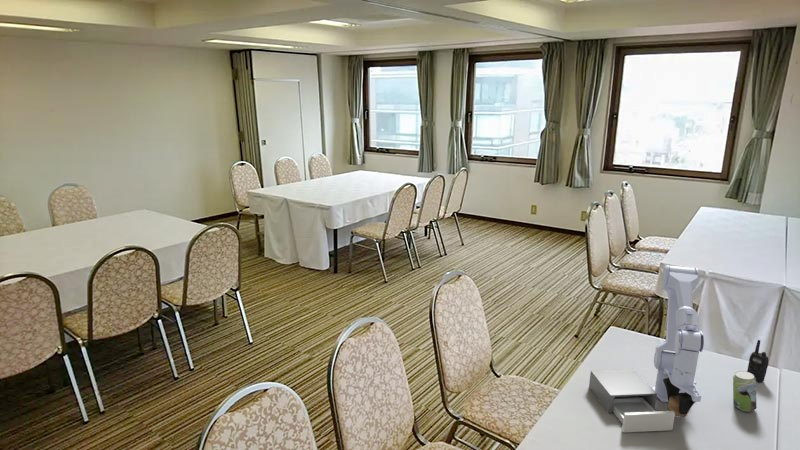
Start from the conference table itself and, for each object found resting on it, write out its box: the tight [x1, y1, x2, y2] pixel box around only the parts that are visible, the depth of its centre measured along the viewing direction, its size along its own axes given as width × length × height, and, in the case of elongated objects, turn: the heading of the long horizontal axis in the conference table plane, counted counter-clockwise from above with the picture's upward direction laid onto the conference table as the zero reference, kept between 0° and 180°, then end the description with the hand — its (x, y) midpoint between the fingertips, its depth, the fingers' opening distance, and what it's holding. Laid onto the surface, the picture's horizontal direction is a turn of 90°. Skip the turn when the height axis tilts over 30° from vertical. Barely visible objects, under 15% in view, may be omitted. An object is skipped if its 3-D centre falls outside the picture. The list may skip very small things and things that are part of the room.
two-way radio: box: [746, 339, 769, 384], centre depth 167 cm, size 6×4×15 cm
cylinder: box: [667, 395, 687, 418], centre depth 145 cm, size 5×5×4 cm
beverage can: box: [732, 370, 758, 412], centre depth 152 cm, size 6×7×12 cm
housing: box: [588, 368, 658, 414], centre depth 157 cm, size 15×14×6 cm
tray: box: [612, 396, 676, 433], centre depth 148 cm, size 15×14×6 cm
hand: (677, 407), depth 145 cm, fingers closed on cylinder, 5 cm apart
